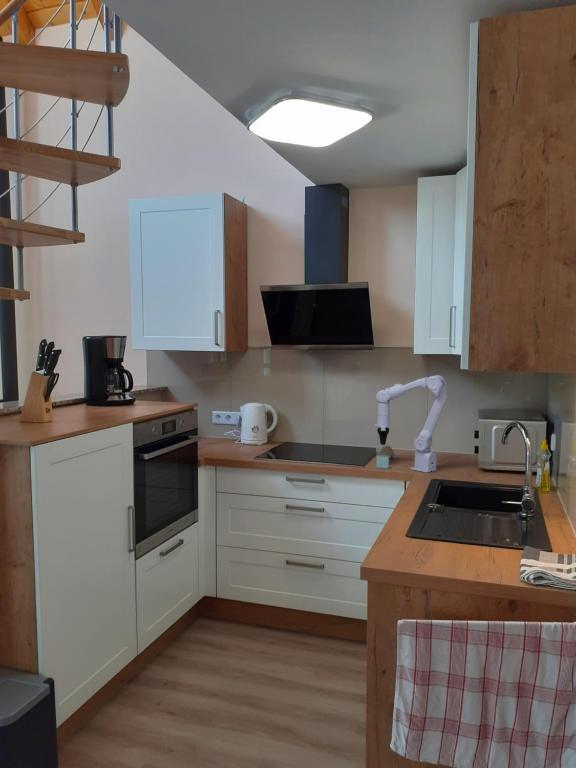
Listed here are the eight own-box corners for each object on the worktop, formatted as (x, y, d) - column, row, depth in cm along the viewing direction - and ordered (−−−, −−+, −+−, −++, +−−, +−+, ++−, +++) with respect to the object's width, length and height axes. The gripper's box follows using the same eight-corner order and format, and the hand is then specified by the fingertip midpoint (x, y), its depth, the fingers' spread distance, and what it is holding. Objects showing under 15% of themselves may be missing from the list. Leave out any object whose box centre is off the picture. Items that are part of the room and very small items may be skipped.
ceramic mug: (379, 460, 300) (379, 444, 299) (375, 456, 308) (376, 441, 307) (400, 460, 301) (400, 445, 300) (395, 457, 309) (396, 442, 308)
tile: (375, 467, 282) (376, 455, 281) (388, 468, 281) (389, 455, 280) (375, 468, 280) (376, 455, 279) (388, 469, 279) (389, 456, 278)
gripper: (375, 413, 293) (374, 440, 294) (374, 416, 278) (374, 446, 279) (390, 413, 292) (389, 441, 293) (390, 417, 277) (389, 446, 278)
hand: (382, 443), depth 286 cm, fingers open, 4 cm apart
